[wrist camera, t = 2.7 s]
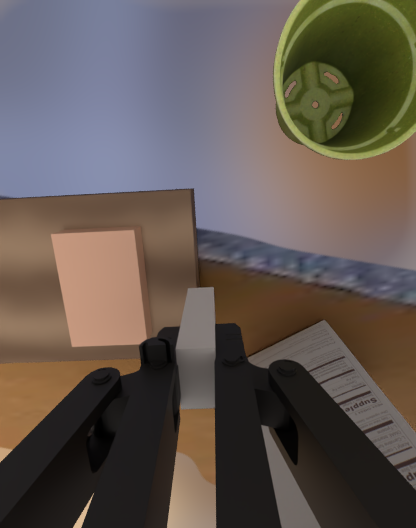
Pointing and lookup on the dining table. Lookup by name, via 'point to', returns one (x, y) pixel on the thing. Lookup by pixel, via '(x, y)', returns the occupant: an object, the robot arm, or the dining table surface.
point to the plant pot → (348, 76)
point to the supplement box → (349, 399)
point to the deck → (47, 279)
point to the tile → (103, 285)
